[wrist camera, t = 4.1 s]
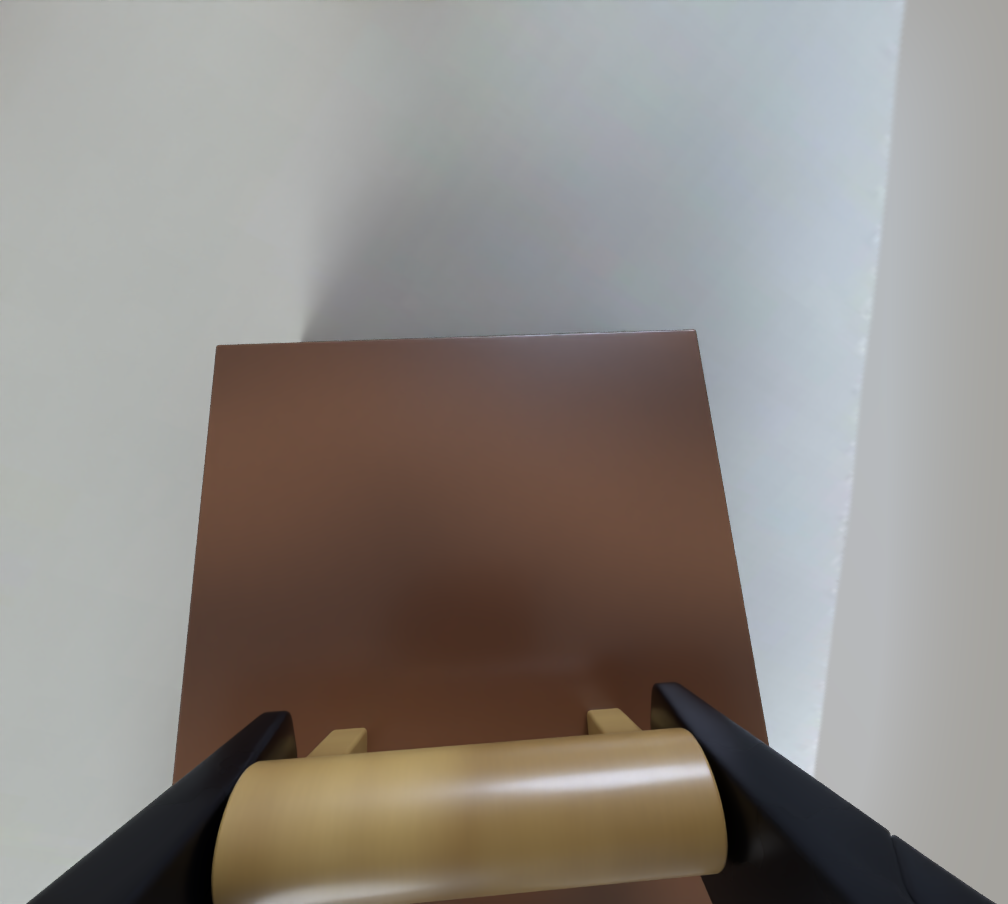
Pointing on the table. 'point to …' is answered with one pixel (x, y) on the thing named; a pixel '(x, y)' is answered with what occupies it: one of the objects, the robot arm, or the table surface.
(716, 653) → the lid
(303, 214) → the table surface
